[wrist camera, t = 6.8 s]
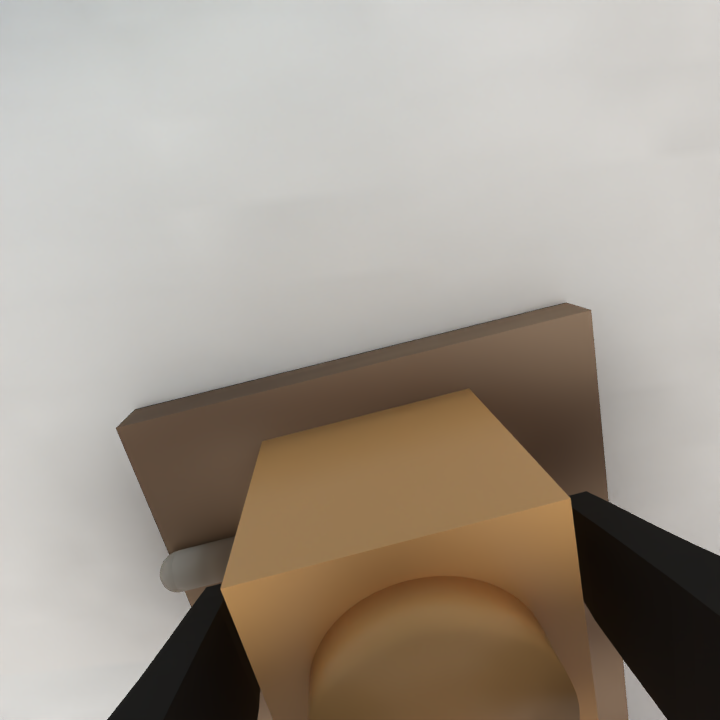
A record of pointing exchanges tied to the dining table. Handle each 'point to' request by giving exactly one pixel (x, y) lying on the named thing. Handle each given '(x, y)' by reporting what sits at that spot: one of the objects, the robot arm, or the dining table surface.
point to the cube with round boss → (410, 573)
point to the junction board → (365, 396)
